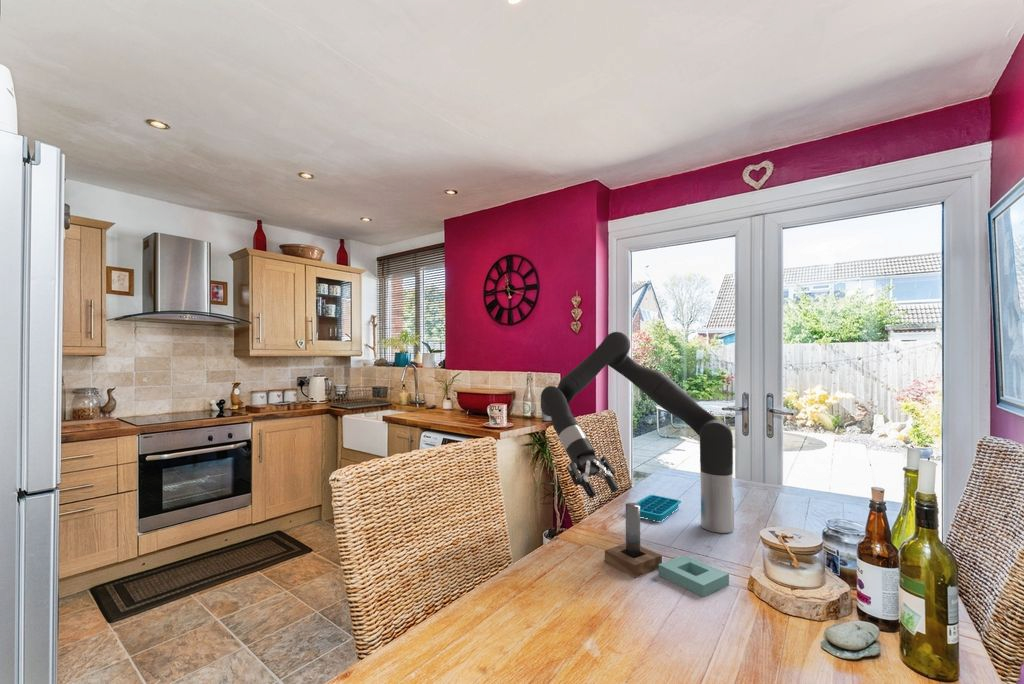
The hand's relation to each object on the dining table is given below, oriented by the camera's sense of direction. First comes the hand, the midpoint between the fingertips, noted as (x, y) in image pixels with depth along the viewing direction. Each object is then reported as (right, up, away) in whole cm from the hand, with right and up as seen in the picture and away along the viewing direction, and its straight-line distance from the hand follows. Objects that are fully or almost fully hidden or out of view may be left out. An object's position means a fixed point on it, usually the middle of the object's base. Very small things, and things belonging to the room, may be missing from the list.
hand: (604, 493), depth 122 cm
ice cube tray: (+24, -18, +31) cm, 43 cm away
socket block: (+5, -15, -9) cm, 18 cm away
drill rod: (+5, -15, -9) cm, 18 cm away
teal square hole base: (+18, -15, -16) cm, 28 cm away
